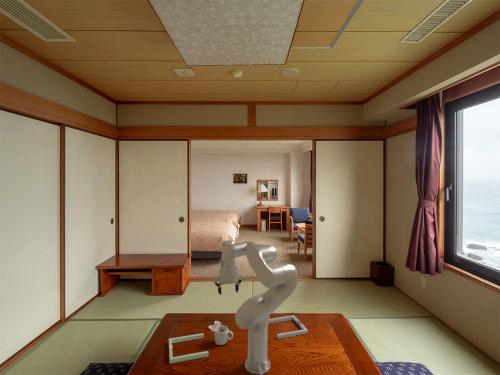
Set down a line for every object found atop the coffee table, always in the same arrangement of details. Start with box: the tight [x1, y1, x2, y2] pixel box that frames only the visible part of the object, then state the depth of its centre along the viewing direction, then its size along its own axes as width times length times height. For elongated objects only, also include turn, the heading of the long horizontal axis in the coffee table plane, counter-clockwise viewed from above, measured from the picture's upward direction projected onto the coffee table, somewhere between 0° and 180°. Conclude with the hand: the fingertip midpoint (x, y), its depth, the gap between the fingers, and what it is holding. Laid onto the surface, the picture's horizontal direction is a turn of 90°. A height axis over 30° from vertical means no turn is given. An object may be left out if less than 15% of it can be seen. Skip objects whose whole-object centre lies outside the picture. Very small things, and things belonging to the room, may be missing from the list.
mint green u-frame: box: [168, 332, 209, 364], centre depth 151 cm, size 19×20×3 cm
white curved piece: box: [208, 320, 222, 332], centre depth 173 cm, size 9×8×4 cm
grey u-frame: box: [268, 315, 309, 340], centre depth 173 cm, size 19×20×3 cm
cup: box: [213, 324, 234, 346], centre depth 157 cm, size 11×8×8 cm
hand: (228, 292), depth 158 cm, fingers open, 9 cm apart
